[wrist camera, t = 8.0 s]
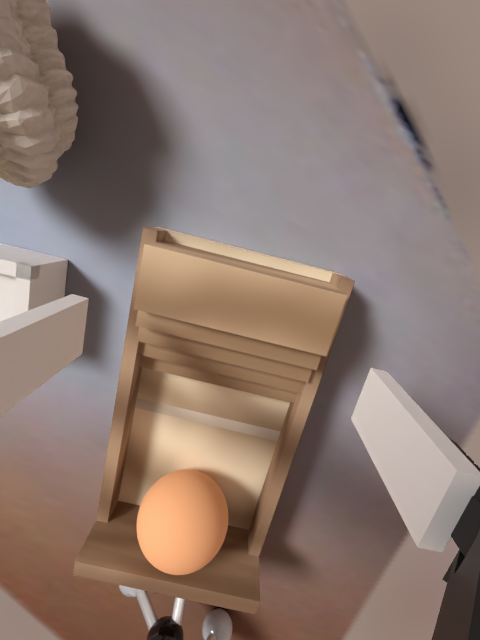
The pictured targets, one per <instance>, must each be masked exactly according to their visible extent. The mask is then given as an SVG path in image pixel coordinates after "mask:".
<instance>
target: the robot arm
mask: <svg viewBox="0 0 480 640" xmlns="http://www.w3.org/2000/svg"><path fill="white" fill-rule="evenodd" d="M88 302H89V298H86V297H82V296H78V295H74V294H71V295H68V296H65V297H63V298H60V299H58V300H55V301H52V302H50V303H47V304H45V305H42V306H39V307H37V308H34V309H31V310H29V311H26V312H24V313H21V314H18V315H16V316H13V317H10V318H8V319H5V320H3V321H0V416H1V415H3V414H4V413H5V412H7V411H8V410H9V409H11V408H12V407H13V406H14V405H16V404H17V403H18V402H20V401H21V400H22V399H24V398H25V397H26V396H28V395H29V394H30V393H32V392H33V391H34V390H36V389H37V388H38V387H39V386H41V385H42V384H43V383H45V382H46V381H47V380H49V379H50V378H51V377H53V376H54V375H55V374H57V373H58V372H59V371H61V370H62V369H63V368H65V367H66V366H67V365H68V364H70V363H71V362H72V361H74V360H75V359H76V358H78V357H79V356H80V355H82V351H83V343H84V335H85V326H86V318H87V310H88ZM351 420H352V422H353V424H354V426H355V428H356V430H357V432H358V433H359V435H360V437H361V439H362V441H363V443H364V445H365V447H366V449H367V451H368V453H369V455H370V457H371V459H372V461H373V463H374V465H375V467H376V468H377V470H378V472H379V474H380V476H381V478H382V480H383V482H384V484H385V486H386V488H387V490H388V492H389V494H390V496H391V498H392V500H393V502H394V504H395V505H396V507H397V509H398V511H399V513H400V515H401V517H402V519H403V521H404V523H405V525H406V527H407V529H408V531H409V533H410V535H411V537H412V539H413V540H414V542H415V544H416V546H417V548H422V549H426V550H431V551H435V552H440V553H443V551H444V549H445V547H446V545H447V544H448V542H449V540H450V538H451V537H452V538H453V540H454V541H455V543H456V544H457V546H458V547H459V549H460V550H459V551H458V553H457V555H456V557H455V558H454V560H453V562H452V564H451V565H450V567H449V569H448V571H447V572H446V574H445V576H444V578H443V580H444V581H446V582H447V587H446V590H445V594H444V597H443V601H442V605H441V608H440V612H439V615H438V619H437V623H436V626H435V630H434V634H433V637H432V640H480V468H479V467H478V466H477V465H476V464H474V462H473V461H472V460H471V458H469V456H467V455H466V453H465V452H464V451H463V450H462V449H461V448H460V447H459V446H458V445H457V444H456V443H455V442H454V441H452V440H451V439H450V438H448V437H447V436H446V435H445V434H444V433H443V432H442V431H441V430H440V429H439V427H438V426H437V425H436V424H435V423H434V422H433V421H432V420H431V419H430V418H429V417H428V416H427V414H426V413H425V412H424V411H423V410H422V409H421V408H420V407H419V406H418V405H417V404H416V403H415V401H414V400H413V399H412V398H411V397H410V396H409V395H408V394H407V393H406V392H405V391H404V390H403V389H402V387H401V386H400V385H399V384H398V383H397V382H396V381H395V380H394V379H393V378H392V377H391V376H390V374H389V373H388V372H387V371H382V370H378V369H374V368H371V369H370V371H369V374H368V376H367V379H366V381H365V384H364V386H363V389H362V392H361V394H360V397H359V399H358V402H357V404H356V407H355V409H354V412H353V415H352V417H351Z"/></svg>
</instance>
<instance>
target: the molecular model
mask: <svg viewBox="0 0 480 640" xmlns="http://www.w3.org/2000/svg"><path fill="white" fill-rule="evenodd" d="M119 588H120V591H121V592H122V593H123V594H124V595H125V596H127V597H131V598H133V597H137V599H138V602H139V604H140V607H141V610H142V613H143V615H144V618H145V621H146V623H147V626H148V629H149V632H148V635H147V639H146V640H184V633H183V629H182V626H181V622H182V617H183V611H184V606H185V600H186V599H181V598H177V597H175V602H174V607H173V613H172V617H171V616H164V617H161V618H159V619H158V618H157V616H156V613H155V611H154V608H153V606H152V603H151V601H150V598H149V596H148V593H147V591H144V590H140V589H135V588H130V587H126V586H121V585H119ZM232 631H233V625H232V620H231V618H230V616H229V614H228V613H227V612H226V611H225V610H223V609H220V608H216V609H213V610H211V611H210V612H209V613H208V614H207V615H206V617H205V619H204V622H203V626H202V634H203V638H204V640H230V639H231V636H232Z"/></svg>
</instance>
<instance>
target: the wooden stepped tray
mask: <svg viewBox="0 0 480 640" xmlns="http://www.w3.org/2000/svg"><path fill="white" fill-rule="evenodd" d="M354 282H355V281H353V280H351V279H350V278H348V277H346V276H344V275H342V274H340V273H337V272H333V271H329V270H325V269H321V268H317V267H313V266H309V265H306V264H302V263H298V262H294V261H290V260H286V259H282V258H278V257H274V256H270V255H266V254H262V253H259V252H255V251H251V250H247V249H243V248H239V247H235V246H231V245H227V244H223V243H219V242H216V241H212V240H208V239H204V238H200V237H196V236H192V235H188V234H184V233H180V232H176V231H173V230H169V229H165V228H161V227H143V231H142V237H141V243H140V250H139V256H138V262H137V269H136V275H135V281H134V287H133V294H132V300H131V306H130V313H129V319H128V325H127V331H126V338H125V344H124V350H123V357H122V363H121V369H120V375H119V382H118V388H117V394H116V401H115V407H114V413H113V420H112V426H111V432H110V438H109V445H108V451H107V457H106V464H105V470H104V476H103V482H102V489H101V495H100V501H99V508H98V514H97V520H96V522H95V524H94V526H93V528H92V530H91V532H90V534H89V536H88V537H87V539H86V541H85V543H84V545H83V547H82V549H81V551H80V553H79V555H78V556H77V558H76V560H75V564H74V571H73V575H75V576H79V577H84V578H89V579H93V580H98V581H103V582H107V583H112V584H116V585H121V586H126V587H130V588H135V589H140V590H144V591H149V592H153V593H158V594H163V595H167V596H172V597H177V598H181V599H186V600H190V601H195V602H200V603H204V604H209V605H213V606H218V607H223V608H227V609H232V610H237V611H241V612H246V613H250V614H256V611H257V608H258V605H259V603H260V584H259V555H260V552H261V549H262V546H263V543H264V541H265V538H266V535H267V532H268V529H269V526H270V523H271V520H272V518H273V515H274V512H275V509H276V506H277V503H278V500H279V498H280V495H281V492H282V489H283V486H284V483H285V480H286V477H287V475H288V472H289V469H290V466H291V463H292V460H293V457H294V455H295V452H296V449H297V446H298V443H299V440H300V437H301V434H302V432H303V429H304V426H305V423H306V420H307V417H308V414H309V411H310V409H311V406H312V403H313V400H314V397H315V394H316V391H317V389H318V386H319V383H320V380H321V377H322V374H323V371H324V368H325V366H326V363H327V360H328V357H329V354H330V351H331V348H332V346H333V343H334V340H335V337H336V334H337V331H338V328H339V325H340V323H341V320H342V317H343V314H344V311H345V308H346V305H347V303H348V300H349V297H350V294H351V291H352V288H353V285H354ZM183 469H190V470H196V471H199V472H202V473H204V474H206V475H208V476H209V477H210V478H212V479H213V480H214V481H215V482H216V483H217V485H218V486H219V487H220V489H221V491H222V492H223V494H224V497H225V500H226V503H227V507H228V528H227V533H226V536H225V539H224V542H223V544H222V546H221V548H220V550H219V551H218V553H217V554H216V556H215V557H214V558H213V559H212V560H211V561H210V562H209V563H208V564H207V565H206V566H204V567H203V568H201V569H200V570H198V571H196V572H193V573H190V574H185V575H171V574H167V573H164V572H162V571H160V570H158V569H157V568H155V567H154V566H153V565H152V564H151V563H150V562H149V561H148V560H147V559H146V557H145V556H144V554H143V552H142V550H141V548H140V545H139V542H138V538H137V516H138V512H139V508H140V505H141V503H142V500H143V498H144V497H145V495H146V493H147V492H148V490H149V489H150V488H151V487H152V485H153V484H154V483H155V482H156V481H158V480H159V479H160V478H161V477H163V476H165V475H167V474H169V473H171V472H173V471H177V470H183Z"/></svg>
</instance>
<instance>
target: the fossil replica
mask: <svg viewBox="0 0 480 640" xmlns="http://www.w3.org/2000/svg"><path fill="white" fill-rule="evenodd" d="M57 43H58V38H57V32H56V30H55V29H53V28H52V24H51V8H50V7H49V5H48V4H47V3H46V0H0V177H1V178H2V179H4V180H6V181H7V182H10V183H12V184H14V185H17V186H22V187H27V188H30V187H34V186H38V185H40V184H41V183H42V182H45V181H48V180H49V179H50V178H51V177H52V174H53V173H54V172H55V171H56V170H57V167H58V164H57V158H59V157H60V156H61V155H63V153H64V151H67V150H69V148H70V147H71V146H72V141H74V139H75V130H76V126H77V122H78V117H77V115H76V113H77V110H78V108H79V107H78V105H77V103H76V102H75V98H76V96H77V91H76V90H75V89H74V88H73V87H72V84H71V83H72V81H73V75H72V74H71V73H70V72H69V71H67V70H66V67H65V58H64V55H63V54H62V53H61V52H60V51H59V49H58V46H57Z"/></svg>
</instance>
